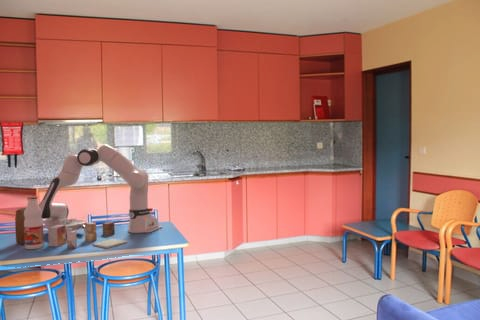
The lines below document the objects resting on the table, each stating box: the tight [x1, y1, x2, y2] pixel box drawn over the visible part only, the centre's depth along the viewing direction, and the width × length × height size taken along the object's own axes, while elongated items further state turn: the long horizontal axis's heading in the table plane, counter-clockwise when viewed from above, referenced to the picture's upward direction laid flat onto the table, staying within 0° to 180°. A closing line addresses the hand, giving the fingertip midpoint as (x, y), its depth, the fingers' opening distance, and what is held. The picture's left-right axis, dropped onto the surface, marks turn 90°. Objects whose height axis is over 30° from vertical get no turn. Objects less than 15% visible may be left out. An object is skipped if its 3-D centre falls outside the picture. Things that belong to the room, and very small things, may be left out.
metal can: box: [66, 230, 78, 250], centre depth 226 cm, size 5×5×9 cm
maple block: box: [84, 222, 98, 243], centre depth 242 cm, size 4×4×10 cm
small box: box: [47, 225, 67, 247], centre depth 233 cm, size 8×6×10 cm
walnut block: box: [101, 221, 116, 236], centre depth 258 cm, size 5×5×7 cm
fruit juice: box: [24, 195, 45, 250], centre depth 228 cm, size 9×9×28 cm
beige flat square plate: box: [92, 238, 128, 250], centre depth 233 cm, size 14×12×1 cm
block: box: [14, 207, 26, 246], centre depth 238 cm, size 11×8×20 cm
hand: (78, 228), depth 249 cm, fingers open, 8 cm apart
